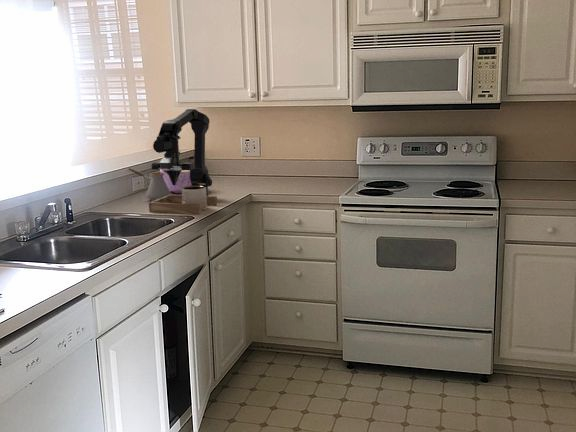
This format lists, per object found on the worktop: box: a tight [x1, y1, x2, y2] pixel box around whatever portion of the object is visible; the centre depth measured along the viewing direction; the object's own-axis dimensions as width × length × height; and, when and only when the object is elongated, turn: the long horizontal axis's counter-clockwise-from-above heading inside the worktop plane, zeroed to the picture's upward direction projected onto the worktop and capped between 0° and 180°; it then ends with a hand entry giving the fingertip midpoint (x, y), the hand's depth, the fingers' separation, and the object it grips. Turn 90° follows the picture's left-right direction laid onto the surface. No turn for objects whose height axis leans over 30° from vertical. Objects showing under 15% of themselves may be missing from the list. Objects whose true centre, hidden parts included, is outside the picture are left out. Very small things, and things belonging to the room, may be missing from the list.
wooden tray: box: [148, 194, 218, 215], centre depth 281 cm, size 20×24×4 cm
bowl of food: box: [159, 168, 192, 194], centre depth 324 cm, size 20×20×12 cm
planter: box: [181, 186, 208, 211], centre depth 279 cm, size 11×11×10 cm
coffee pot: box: [126, 167, 172, 202], centre depth 302 cm, size 21×12×15 cm, turn 74°
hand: (174, 185), depth 281 cm, fingers closed
